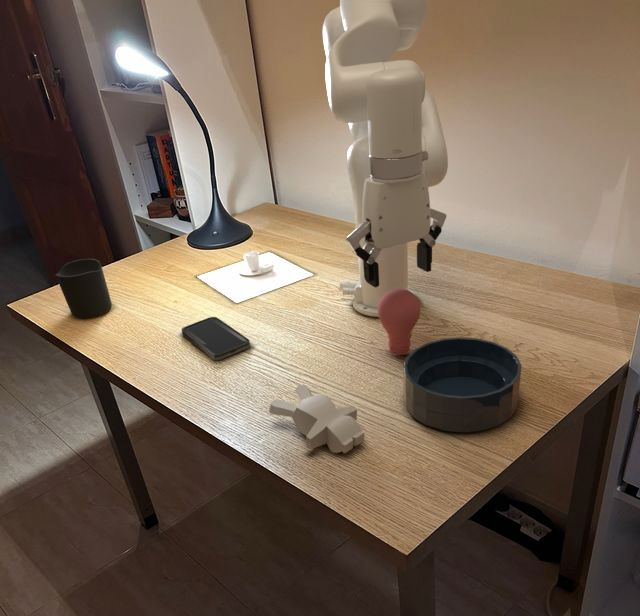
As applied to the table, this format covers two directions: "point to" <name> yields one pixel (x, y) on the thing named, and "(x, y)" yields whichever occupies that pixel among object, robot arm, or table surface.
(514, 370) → the dark grey round tub
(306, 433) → the bunny figurine
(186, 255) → the table surface
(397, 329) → the light bulb
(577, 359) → the table surface
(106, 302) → the dark grey spouted beaker
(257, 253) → the teacup and saucer
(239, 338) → the phone
